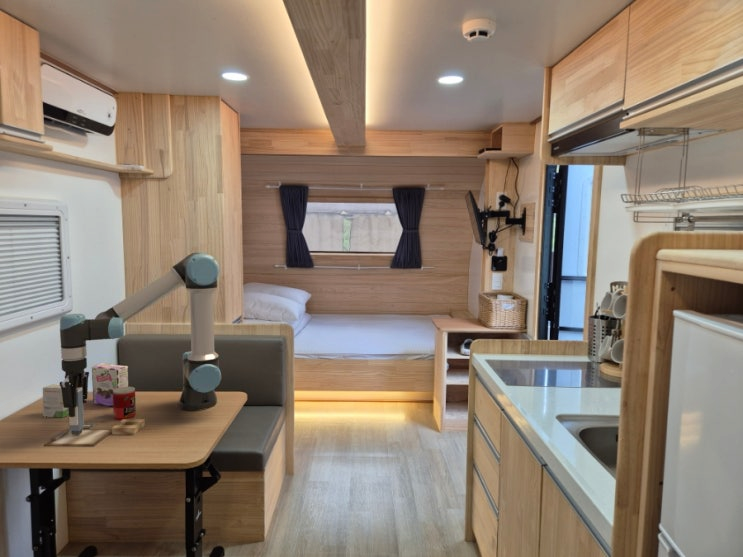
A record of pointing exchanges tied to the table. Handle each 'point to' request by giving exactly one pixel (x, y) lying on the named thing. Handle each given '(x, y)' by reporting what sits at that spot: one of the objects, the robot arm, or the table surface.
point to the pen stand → (128, 427)
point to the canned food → (124, 403)
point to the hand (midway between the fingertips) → (76, 423)
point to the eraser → (79, 403)
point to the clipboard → (79, 438)
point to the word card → (87, 426)
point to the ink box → (53, 402)
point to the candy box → (107, 382)
